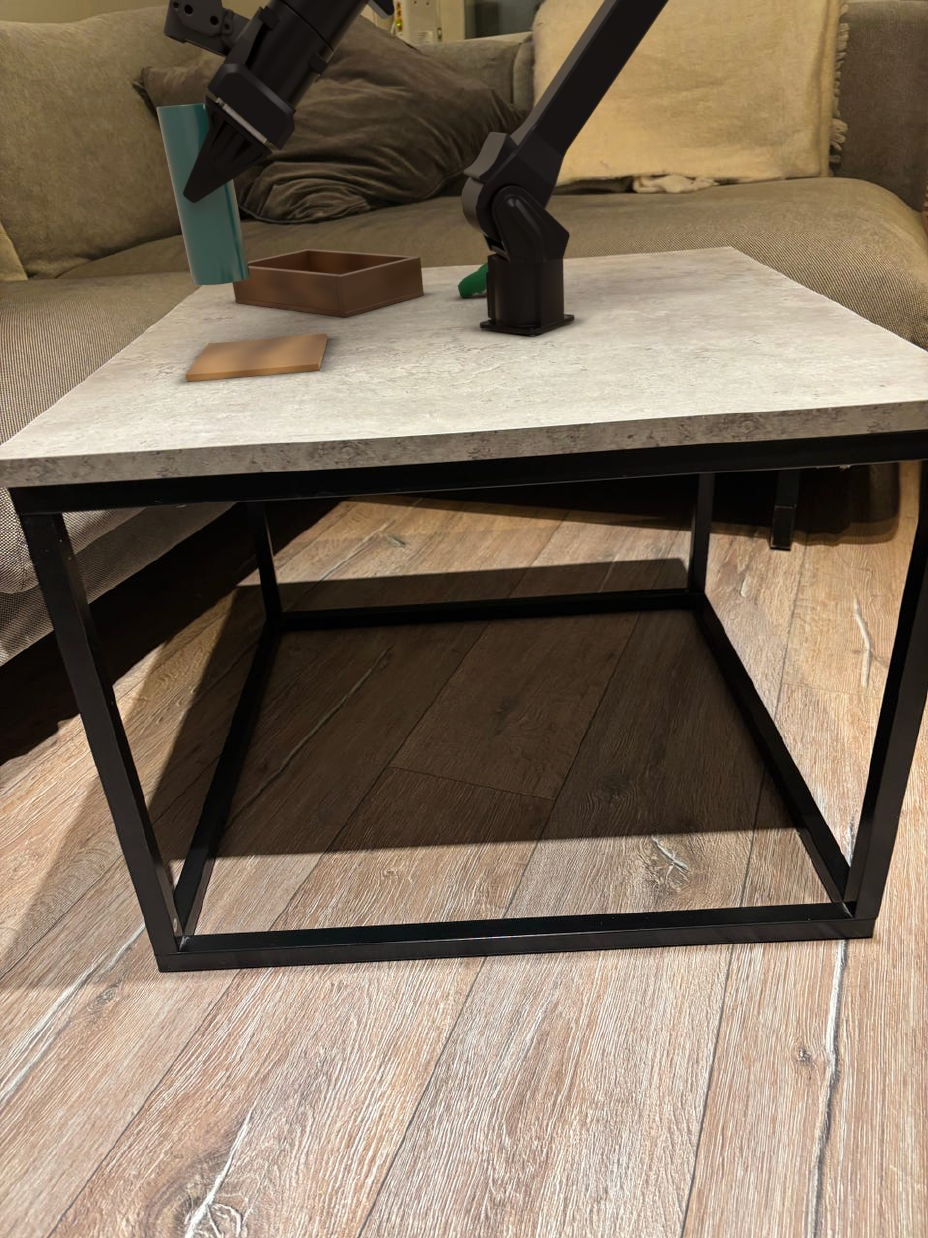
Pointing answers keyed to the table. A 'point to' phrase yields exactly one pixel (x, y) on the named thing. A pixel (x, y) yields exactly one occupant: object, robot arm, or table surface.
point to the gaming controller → (474, 283)
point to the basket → (330, 281)
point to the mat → (259, 357)
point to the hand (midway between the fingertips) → (188, 196)
